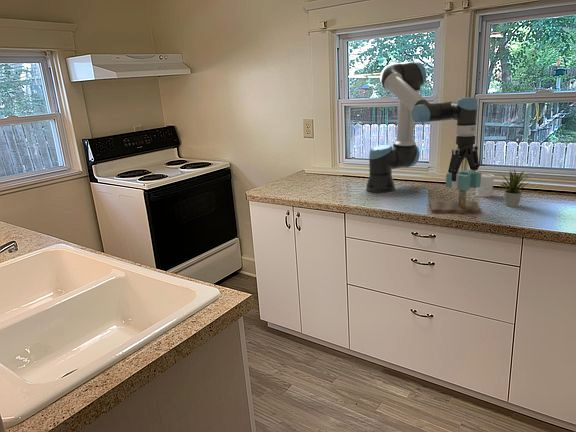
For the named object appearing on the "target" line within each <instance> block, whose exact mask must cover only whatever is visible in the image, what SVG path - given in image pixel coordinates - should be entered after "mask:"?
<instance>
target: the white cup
mask: <svg viewBox="0 0 576 432" xmlns="http://www.w3.org/2000/svg"><path fill="white" fill-rule="evenodd" d="M494 180H495V174H492V173H481V184H480V187H477V188H475V190H476V194H475V195H476V197H480V198H489V197H492V194H493V188H494Z"/></svg>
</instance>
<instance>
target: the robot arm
mask: <svg viewBox="0 0 576 432" xmlns="http://www.w3.org/2000/svg"><path fill="white" fill-rule="evenodd" d="M379 80H380V84H381V86H382V87H383V89H385V91H386V92H389V93H392V94H393V95H394V96H395V97H396V98H397V99H398V109H397V110H398V111H397V113H398V115H397V125H396V128H397V129H396V140H394V141H393V144H392V145H391V144H380V145H376V146H373V147H371V148H370V150H369V156H368V158H369V160H368V161H369V176H368V180H367V182H366V185H365V187H366V191H367V192H371V193H389V192H393V191H395V190H396V189H395V188H396V186H395V181H394V178H393V175H392V174H393V173H392V171H393V170H395V169H403V168H405V169H407V168H410V167H414V166H415V165H417V163H418V162H419V159H420V157H421V156H420V153H421V152H420V149H419V146H418V145H417V142H416V141H415V140H414V135H415V133H414V132H415V123H420V124H423V123H424V124H425V123H429V122H431V123H432V122H440V121H456V132H455V133H456V139H455V144H456V145H457V148H456V149H454V148H453V149H451V158H450V161H449V166H448V171H447V173H451V174H452V188H451V189H454V190H459V189H458V178H459V174H457V173H458V171H460V169H461V165H462V163H463V161H464V160H465V158H466V161H467V163H468V167H469V168H470V169H468V171H470V172H476V171H478V170H479V168H480V161H479V152H478V149H479V147H478V145H475V144H476V133H477V132H476V130H477V128H476V127H477V117H478V116H477V115H478V99H477V97H474V96H472V97H470V96H469V97H467V96H466V97H460V98H458V101H457V102H456V101H445V102H437V103H430V102H429V101H428V100H426V98H424V97H423V96H422V95H421V94H420V93H419V92H420V91H421V87H422V86H424V85H425V83H426V82H427V70H426V67H425V65H423V64H422V63H421V62H419V61H406V62H404V61H403V62H392V63H389V64H387V65H386V66H385V67H384V68H383V69H382V71H381V72H380V76H379Z"/></svg>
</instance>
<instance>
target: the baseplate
mask: <svg viewBox="0 0 576 432" xmlns="http://www.w3.org/2000/svg"><path fill="white" fill-rule="evenodd" d="M466 197H467V190H459V189H458V201H429V206H430V207H429V208H430V211H431V213H433V214H434V213H435V214H482V209H481V207H480V206H479V204H478V202H477V201H467V198H466Z"/></svg>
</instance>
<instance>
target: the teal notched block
mask: <svg viewBox="0 0 576 432" xmlns="http://www.w3.org/2000/svg"><path fill="white" fill-rule="evenodd" d="M457 174H459V178H458V189H457V190H458V191H459V190H466V191H469V190H471V189H470V188H475V189H476V188H477V187H480V184H481V174H482V173H481V172H476V171H475V172H470V171H469V170H462V169H461V170H460V169H459V170H458V173H457ZM445 187H446V188H449V189H453V188H452V174H451V173H449V172H447V173H446V175H445Z"/></svg>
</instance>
